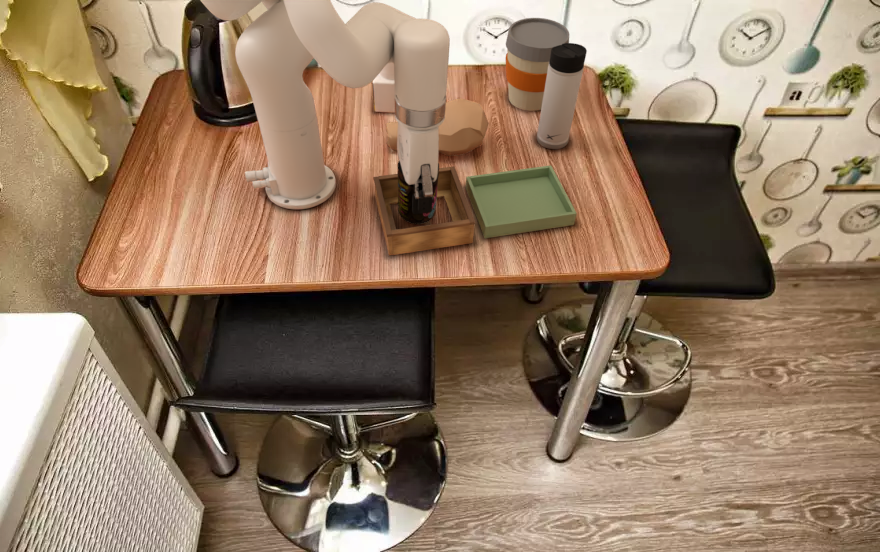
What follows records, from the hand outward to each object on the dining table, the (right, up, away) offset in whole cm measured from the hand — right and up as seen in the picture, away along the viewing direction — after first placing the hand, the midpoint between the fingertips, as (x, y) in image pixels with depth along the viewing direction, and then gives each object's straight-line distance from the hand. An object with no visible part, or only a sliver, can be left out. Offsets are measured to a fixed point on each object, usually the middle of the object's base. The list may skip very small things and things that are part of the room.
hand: (417, 196), depth 105 cm
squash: (+3, +12, +18) cm, 22 cm away
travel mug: (+26, +13, +19) cm, 35 cm away
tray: (+18, -1, +6) cm, 19 cm away
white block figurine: (-6, +23, +27) cm, 36 cm away
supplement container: (0, -3, +3) cm, 4 cm away
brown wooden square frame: (+1, -4, +4) cm, 5 cm away
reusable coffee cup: (+23, +25, +29) cm, 44 cm away
